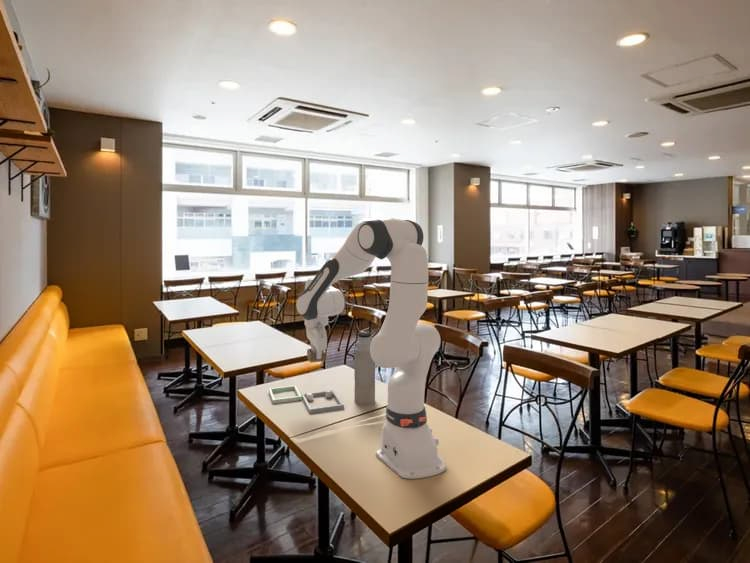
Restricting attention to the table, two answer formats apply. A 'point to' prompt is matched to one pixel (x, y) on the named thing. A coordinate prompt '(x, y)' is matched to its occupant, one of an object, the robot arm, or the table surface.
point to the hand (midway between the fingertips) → (316, 355)
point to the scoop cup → (313, 358)
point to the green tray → (281, 390)
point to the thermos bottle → (364, 371)
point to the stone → (313, 349)
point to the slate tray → (326, 408)
